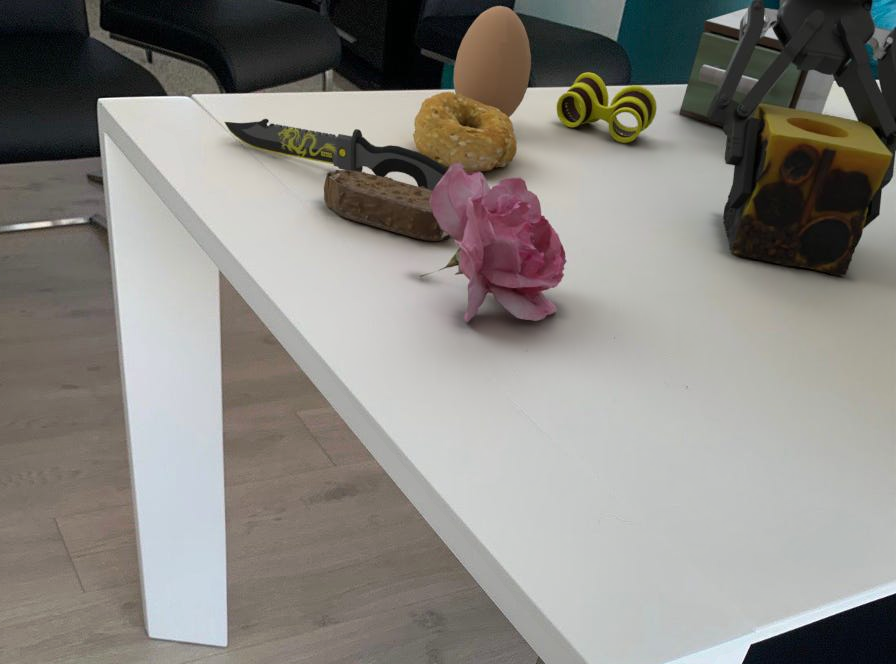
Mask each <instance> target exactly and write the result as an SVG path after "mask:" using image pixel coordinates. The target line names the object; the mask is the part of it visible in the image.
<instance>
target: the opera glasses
mask: <svg viewBox="0 0 896 664" xmlns="http://www.w3.org/2000/svg"><path fill="white" fill-rule="evenodd" d="M622 113H628V114H630V115H632V116H633V117H634V118H635V120H636V122H637V126H626V125H624V124H622V123H621V122H620V121H619V120H618V117H617V116H618V115H620V114H622ZM556 114H557V117H558V120H559V121H560V122H561V123H562V124H563V125H564V126H565V127H568V128H576V127H578V126H580V125H584V124H594V123H597V122H599V121H600V120H601V121H603V122H606V123H607V124H608V131H609V134H610V136H611V137H612V138H613V139H614V140H615V141H616V142H619V143H621V144H627V143H631V142H633V141H635V140H636V139H637V138H638V137H639V135H640V134H641V132H643V131H645V130H646V129H647V128H649V127H650V125H651V124H652V123H653V122H654V119H655V118H656V114H657V101H656V99H655V96H654V94H653V93H652V92H651V91H650V90H649V89H647V88H646V87H644V86H641V85H629V86H626V87H623V88H621V90H619V91H618V92H617V93H616V94H615V95H614V96H613V98H612V100H611V102H610V106H609V92H608V88H607V86H606V84H605V82H604V81H603V79H602V78H601V76H599V75H598V74H596V73H593V72H590V71H589V72H587V71H586V72H583V73H581V74H579V76H577V78H576V79H575V81H574V82H573V84H572V85H571V86H570V87H569V88H568V90H567V91H566V92H565V93H563V94H561V95H560V97H559V98H558V99H557V103H556Z"/></svg>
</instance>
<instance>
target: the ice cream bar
mask: <svg viewBox="0 0 896 664" xmlns="http://www.w3.org/2000/svg"><path fill="white" fill-rule="evenodd" d="M432 192H433V191H432V190H428V189H426V188H425V187H424V186H421V187H418V185H413V184H410V183H406V182H404V181H403V182H402V181H400V180H396V179H395V180H394V178H392V177H388V176H385V177H381V176H377V175H375V174H374V173H373V174H372V173H368V172H365V171H362V172H357V171H350V170H343V169H336V170H335V171H328V172H327V173H326V177H325V181H324V186H323V200H324V203H325V205H327V208H328V209H331V210H332V211H334V212H335V213H336V214H338V216H341V217H343V218H345V219H348V220H351V221H354V222H358V223H361V224H364V225H369V226H372V227H375V228H378V229H382V230H386V231H389V232H393V233H396V234H399V235H403V236H407V237H410V238H414V239H417V240H423V241H430V242H440V241H443V240H446V239H447V238H450V237H451V236H450V235H449V234H447V233H446V232H444V231H443V230H441V229H440V227H439V224H438V222H437V220H436V218H435V216H434V215H433V211H432V208H431V205H430V203H429V200H430V197H431V194H432Z"/></svg>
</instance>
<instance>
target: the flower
mask: <svg viewBox="0 0 896 664" xmlns="http://www.w3.org/2000/svg"><path fill="white" fill-rule="evenodd" d="M429 203H430V205H431V208H432V211H433V215H434V216H435V218H436V220H437V222H438V224H439V227H440V229H441V230H443V231H444V232H446V233H447V234H449V235H450V237H452V238H453V239H454V243H455V244H456V245H457V246H458V247H459V248H458V249H457V250H456V252H455V253H454V255H453V256H452V257H451V258H450V260H449V261H448V263H447V264H446V266H444V267H442V268H440V269H438V270H437V271H433V272H428V273H425V274H421V275H419V278H422V277H425V276H428V275H431V274H434V273H436V272H439V271H441V270H444V269H448V268H449V269H450V268H453V267H457V266H458V267H457V268H458V271H457V272H455V273H454V275H455V276H457V275H464V276H465V277H466V278H467V279H468V280H469V281H468V283H467V285H466V286H467V309H466V311H465V313H464V316H463V320H464V322H465V323H466V324H468V323H469V322H470V321H471V320H472V319H473V318H474V317H475V315H476V314H478V312H479V309H480V307H481V306H482V305H483V304H484V301H485V300H486V297H487V295H488V294H492V295H493V297H494V299H495V300H496V301H497V302H498V303H499V304H500V305H501V306H502V307H503V308H504V309H505V310H506V311H508V312H509V313H510V314H511V315H512V316H514V317H515V318H517V319H521V320H525V321H526V320H528V321H533V322H537V321H541V320H545V319H546V317H547V315H548V316H550V315H552V314H554V313H556V312H557V311H558V309H557V307H556V306H555V305H554V303H553V302H551V301H550V300H549V299H548V298H546V297H547V296H545V295H544V293H543V292H544V291H547V290H549V289H554V288H556V287H558V286H559V283H561V282H562V280H563V278H564V276H565V274H564V273H563V271H565V269H566V268H565V264H566V263H567V262H568V261H567V259H566V251H565V249H564V246H563V244H562V242H561V239H560V236H559V233H558V232H557V231H556V230H555V229H554V227H552V225H551V223H550V222H549V220H548V219H546V217H545V215H542V207H541V202H540V200H539V197H538V195H537V194H536V193H534V192H533V191H531V190H529V189H528V187H527V183H526V180H524V179H523V178H521V176H519V177H508V178H502V179H500V180H499V182H498V183H497V184H496V185H493V186H492V187H490V186H489V182H488V181H487V178H486V177H485V175H484V174H483V172H480V171H476V172H469V173H466V172H465V171H464V170H463V169H462V165H461V163H454V164H451V165H450V167H449V168H448V170H447V172H446V173H445V175H444V176H443V177H442V179H441V180H440V181H439V183H438V184H437V185H436V186H435V188H434V190H433V192H432V194H431V197H430V200H429Z"/></svg>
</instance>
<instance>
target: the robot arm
mask: <svg viewBox="0 0 896 664" xmlns="http://www.w3.org/2000/svg"><path fill="white" fill-rule="evenodd" d="M873 3H874V0H779V8H778V9H776V8H767V7H766V6H765V5H766V4H765V3H764V1H763V0H752V2H751V3H750V4H749V6H748V7H747V8H748V10H747V11H746V13H745V15H744V16H743V18H742V20H741V22H740V31H739V43H738V45H737V47H736V49H735V52H734V54H733V56H732V58H731V60H730V63H729V65H728V67H727V69H726V71H725V74H724V76H723V78H722V80H721V82H720V85H719V87H718V89H717V91H716V93H715V96H714V98H713V100H712V102H711V104H710V107H709V109H708V111H707V117H708V118H709V119H710V120H711V121H717V120H719V121H721V122H723V123H724V124H725V126H724V127H722V128H723V129H722V131H723V134H724V135H725V136H726V142H725V150H724V151H725V152H724V162H725V165H729V166H734V168H733V175H732V176H733V177H732V185H731V187H732V194H731V203H730V208H734V209H739V208H740V207H741V206H742V204H743V203H744V202H745V201H746V200H747V198H748V197H749V196H750V195H751V189H752V180H753V171H754V162H755V153H756V144H757V135H758V126H759V119H757V118H751V117H750V119H749V120H748V117H749V116H750V115H751V114H752V112H753V111H754V110H755V109H756V107H757V106H758V105H759V104H760V102H761V101H762V100H763V99H764V97H765V96H766V95H767V94H768V92H769V91H770V90H771V89H772V87H773V86H774V85H775V84H776V83H777V81H778V80H779V79H780V78H781V77H782V75H783V74H784V73H785V72H786V70H787V69H788V68H789V67H790V65H791V64H792V63H793V64H794V65H796V66H797V70H803V71H808V70H815V71H818V72H820V73H822V74H827V75H832V74H833V77H834V82H835V83H836V85H837V87H839V88H842V89H843V91H844V93H845V96H846V98H847V100H848V102H849V104H850V106H851V108H852V111H853V113H854V115H855V117H856V119H857V120H856V121H860V122H862V123H864V124H866V125H868V126H870V127H871V128H872V129H873V131H874V132H875V134H876V135H877V136H878V138H879V139H880V140H881V141H882V143H883V144H884V145H885V146H886V147H887V149H888V150H889V151H890V152H891V153H892V154H893V156H892V158H891V162H890V165H889V167H888V169H887V171H886V173H885V174H884V177H883V179H882V182H881V185H880V187H879V188H878V190H877V191H876V193H875V194H874V196H873V198H872V201H871V203H870V204H869V206H868V212H867V215H866V220H865V224H864V227H863V230H865V228H866V227H868V226H869V225H870V224H871V223H872V222H873V221H874V220H875V219H877V218H878V217H879V216H880V214H881V213H880V212H881V204H882V193H883V189H884V188H885V187H886V186H887V185H888V184H889V183H890V182H891V181H892V179H893V178H894V169H895V162H896V161H895V160H896V26H894V28H893V29H892V30H891V29H888V28H882V27H878V26H876V24H875V21H874V17H873V15H872V7H873ZM769 28H773V31H774V33H775V35H776V37H777V38H778V40H779V42H780V44H781V46H782V47H783V50H782V51H781V53H780V54H779V55H778V56H777V58H776V59H775V60H774V61H773V63H772V64H771V65H770V66H769V68H768V69H767V70H766V71H765V73H764V74H763V75H762V76H761V78H760V79H759V80H758V81H757V83H756V84H755V85H754V86H753V88H752V89H751V90H750V91H749V93H748V94H747V95H746V96H745V98H744V99H743V100H742V101H741V102H740V104H739V103H737V102H736V101H734V100H732V97H733V95H734V93H735V91H736V88H737V86H738V84H739V82H740V80H741V77H742V75H743V73H744V71H745V68H746V66H747V64H748V62H749V60H750V57H751V55H752V53H753V51H754V49H755V46H756V44H757V42H758V40H759V38H761V37H763V36H764V35H765V34H766V32H767V30H768V29H769ZM866 45H869V46H870V47H871V48H872V52H873V55H872V59H873V60H874V61H877V62H876V69H877V70H876V71H877V77H878V82H879V84H878V82H877V79H876V78H875V75H874V73H873V70H872V68H871V67H870V63H871V57H870V54H869V52H868V50H867V48H866ZM849 63H850V64H849ZM848 64H849V65H848Z"/></svg>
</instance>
